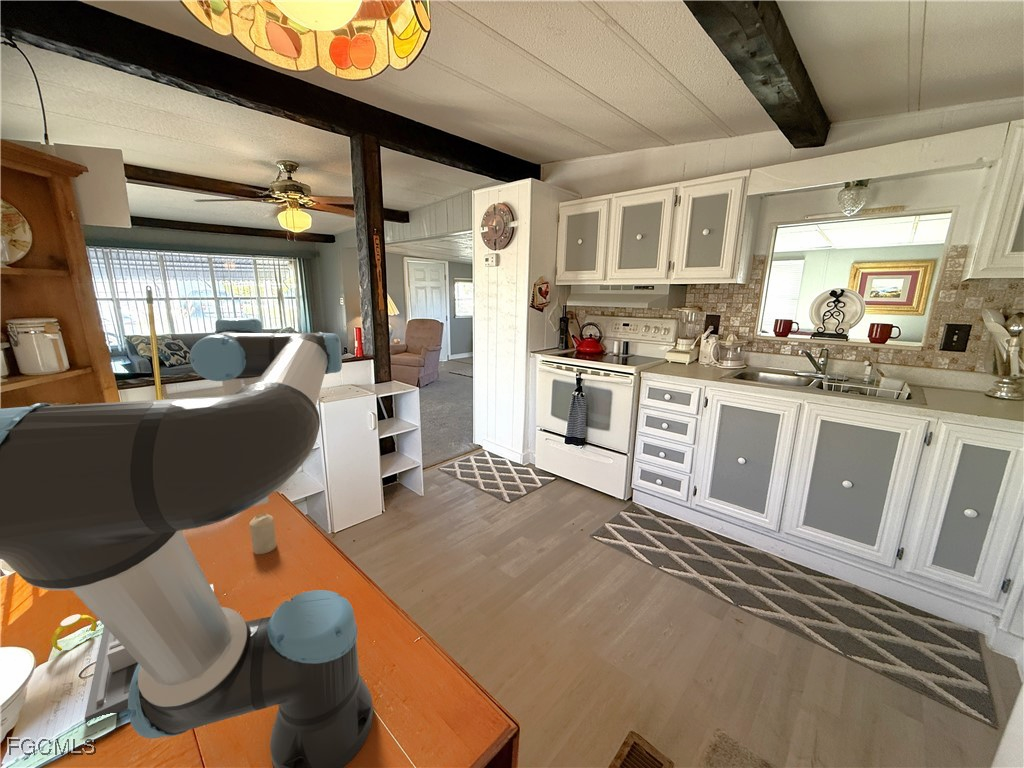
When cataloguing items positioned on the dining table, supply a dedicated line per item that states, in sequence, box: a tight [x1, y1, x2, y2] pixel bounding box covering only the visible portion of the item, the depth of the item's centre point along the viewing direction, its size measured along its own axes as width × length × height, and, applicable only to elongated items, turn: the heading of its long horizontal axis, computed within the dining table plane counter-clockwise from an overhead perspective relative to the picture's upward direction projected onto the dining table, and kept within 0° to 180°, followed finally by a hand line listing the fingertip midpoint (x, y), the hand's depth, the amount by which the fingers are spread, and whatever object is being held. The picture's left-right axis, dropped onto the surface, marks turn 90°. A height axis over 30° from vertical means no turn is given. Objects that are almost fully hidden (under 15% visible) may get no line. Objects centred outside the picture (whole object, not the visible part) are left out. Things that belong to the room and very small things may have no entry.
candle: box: [249, 512, 277, 555], centre depth 108 cm, size 6×6×10 cm
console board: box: [84, 583, 215, 724], centre depth 78 cm, size 24×18×3 cm
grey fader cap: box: [107, 640, 137, 673], centre depth 73 cm, size 3×5×4 cm, turn 130°
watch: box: [50, 613, 98, 652], centre depth 78 cm, size 6×3×6 cm, turn 156°
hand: (260, 503), depth 84 cm, fingers closed
